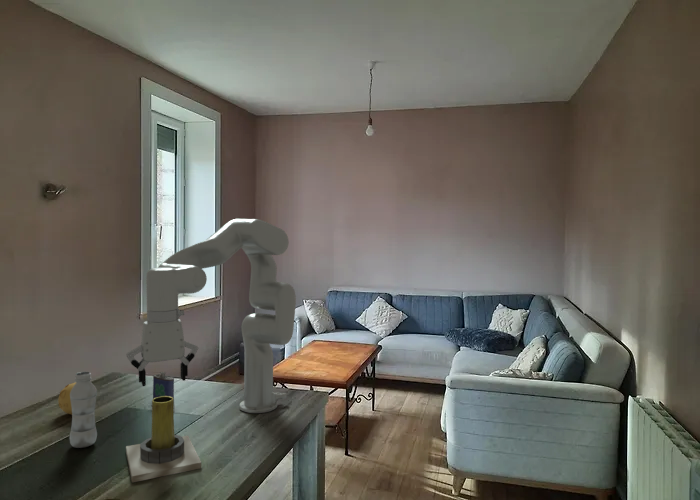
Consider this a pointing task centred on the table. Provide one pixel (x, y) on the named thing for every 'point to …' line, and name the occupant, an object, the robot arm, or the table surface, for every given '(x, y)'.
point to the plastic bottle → (83, 411)
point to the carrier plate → (161, 459)
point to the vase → (162, 423)
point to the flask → (163, 385)
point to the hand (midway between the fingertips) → (163, 381)
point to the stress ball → (66, 399)
